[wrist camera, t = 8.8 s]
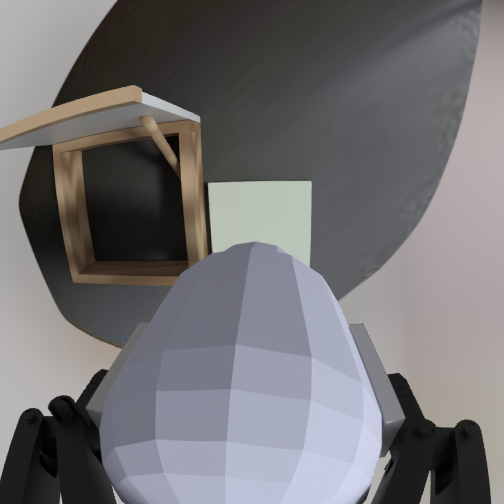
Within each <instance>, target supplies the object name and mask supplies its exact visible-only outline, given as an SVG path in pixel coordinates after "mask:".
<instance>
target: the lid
mask: <svg viewBox="0 0 504 504" xmlns="http://www.w3.org/2000/svg"><path fill="white" fill-rule="evenodd" d="M146 115H151V116H152V117H153V119H154V121H155V122H156V124H161V123H168V122H177V121H186V120H191V121H194V122H196V123H200V116H198V115H195V114H193V113H191V112H189V111H186V110H184V109H182V108H180V107H177V106H175V105H173V104H171V103H168V102H166V101H163V100H161V99H159V98H156V97H154V96H151V95H149V94H146V93H144V92H142V88H139V87H137V86H135V85H133V86H128V87H123V88H119V89H115V90H111V91H107V92H103V93H99V94H96V95H92V96H88V97H85V98H82V99H78V100H75V101H72V102H69V103H66V104H63V105H60V106H57V107H54V108H51V109H48V110H46V111H43V112H40V113H38V114H35V115H32V116H30V117H27V118H25V119H23V120H20V121H18V122H16V123H13V124H11V125H9V126H7V127H4V128H2V129H0V150H5V149H12V148H21V147H30V146H41V145H53V144H59V143H63V142H67V141H71V140H75V139H79V138H84V137H88V136H92V135H97V134H102V133H107V132H112V131H117V130H123V129H128V128H134V127H140V126H144V125H143V124H142V122H141V121H140V119H139V117H140V116H146Z"/></svg>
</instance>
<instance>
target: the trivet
mask: <svg viewBox="0 0 504 504" xmlns="http://www.w3.org/2000/svg"><path fill="white" fill-rule="evenodd" d="M208 191H209V208H210V224H211V238H212V252H213V253H217V252H223V251H225V250H227V249H228V248H230V247H231V246H233V245H236V244H242V243H248V242H254V241H257V242H261V243H266V244H271V245H275V246H278V247H279V248H281V249H282V250H284V251H285V252H287V253H288V254H289V255H292V256H293V257H295V258H296V259H298V260H299V261H301V262H302V263H304V264H305V265H307V266H308V267H309V266H310V238H311V180H272V181H230V182H209V183H208Z"/></svg>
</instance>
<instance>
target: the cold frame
mask: <svg viewBox="0 0 504 504" xmlns="http://www.w3.org/2000/svg"><path fill="white" fill-rule="evenodd" d="M139 119H140V121H141V122H142V124H143V125H144V126H140V127H134V128H128V129H123V130H117V131H112V132H107V133H102V134H97V135H92V136H88V137H84V138H79V139H75V140H71V141H67V142H63V143H59V144H56V145H53V160H54V173H55V183H56V192H57V200H58V207H59V214H60V221H61V227H62V232H63V238H64V243H65V248H66V253H67V258H68V262H69V267H70V271H71V275H72V279H73V283H95V284H120V285H155V286H173V285H174V284H175V282H176V281H177V279H178V277H179V276H180V274H181V273H182V272H184V271H185V270H187V269H188V268H190V267H191V266H193V265H195V264H196V263H198V262H199V261H201V260H202V259H204V258H205V257H207V256H208V251H207V238H206V225H205V210H204V194H203V177H202V157H201V133H200V124H199V123H196V122H194V121H191V120H186V121H177V122H168V123H161V124H156V122H155V121H154V119H153V117H152V116H151V115H146V116H140V117H139ZM170 136H179V148H180V162H179V161H178V159H177V157H176V156H175V154H174V152H173V151H172V149H171V147H170V146H169V144H168V143H167V141H166V139H165V138H164V137H170ZM146 139H153V140H154V142H155V143H156V145H157V146H158V148H159V149H160V151H161V152H162V154H163V155H164V157H165V158H166V160H167V161H168V162H169V164H170V165H171V167H172V168H173V170H174V171H175V173H176V174H177V176H178V177H179V179H180V180H181V183H182V198H183V210H184V222H185V233H186V244H187V253H188V261H95V256H94V250H93V245H92V239H91V233H90V227H89V221H88V214H87V207H86V199H85V190H84V180H83V169H82V156H81V151H83V150H87V149H92V148H98V147H103V146H108V145H114V144H120V143H126V142H132V141H139V140H146Z"/></svg>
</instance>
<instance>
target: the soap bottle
mask: <svg viewBox="0 0 504 504" xmlns="http://www.w3.org/2000/svg"><path fill="white" fill-rule="evenodd" d="M99 433H100V445H101V455H102V463H103V466H104V468H105V471H106V473H107V475H108V478H109V480H110V482H111V484H112V486H113V487H114V489H115V491H116V492H117V494H118V496H119V497H120V499H121V501H122V502H124V503H125V504H363V503H364V501H365V500H366V498H367V496H368V493H369V489H370V486H371V483H372V480H373V477H374V473H375V470H376V466H377V462H378V459H379V455H380V451H381V447H382V415H381V412H380V409H379V406H378V403H377V400H376V398H375V395H374V392H373V389H372V387H371V384H370V381H369V378H368V376H367V373H366V370H365V368H364V365H363V363H362V360H361V357H360V355H359V352H358V350H357V347H356V345H355V342H354V340H353V337H352V335H351V332H350V330H349V327H348V325H347V322H346V320H345V318H344V315H343V313H342V310H341V308H340V305H339V303H338V302H337V300H336V298H335V297H334V295H333V293H332V292H331V290H330V288H329V286H328V285H327V283H326V281H325V280H324V278H323V276H321V275H320V274H318V273H317V272H315V271H314V270H312V269H311V268H310V267H308V266H307V265H305V264H304V263H302V262H301V261H299V260H298V259H296V258H295V257H293V256H292V255H289V254H288V253H287V252H285V251H284V250H282V249H281V248H279V247H278V246H275V245H271V244H266V243H261V242H257V241H254V242H248V243H242V244H236V245H233V246H231V247H230V248H228V249H227V250H225V251H223V252H217V253H212V254H210V255H209V256H207V257H205V258H204V259H202V260H201V261H199V262H198V263H196V264H195V265H193V266H191V267H190V268H188V269H187V270H185V271H184V272H182V273H181V274H180V276H179V277H178V279H177V281H176V282H175V284H174V285H173V287H172V288H171V290H170V291H169V293H168V294H167V296H166V298H165V299H164V301H163V302H162V304H161V305H160V307H159V309H158V310H157V312H156V313H155V315H154V317H153V318H152V320H151V321H150V323H149V325H148V326H147V328H146V329H145V331H144V333H143V334H142V336H141V337H140V339H139V341H138V342H137V344H136V346H135V347H134V349H133V351H132V352H131V354H130V356H129V357H128V359H127V361H126V362H125V364H124V366H123V367H122V369H121V371H120V373H119V374H118V376H117V378H116V380H115V382H114V384H113V386H112V388H111V390H110V392H109V393H108V395H107V397H106V399H105V402H104V407H103V413H102V418H101V423H100V429H99Z"/></svg>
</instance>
